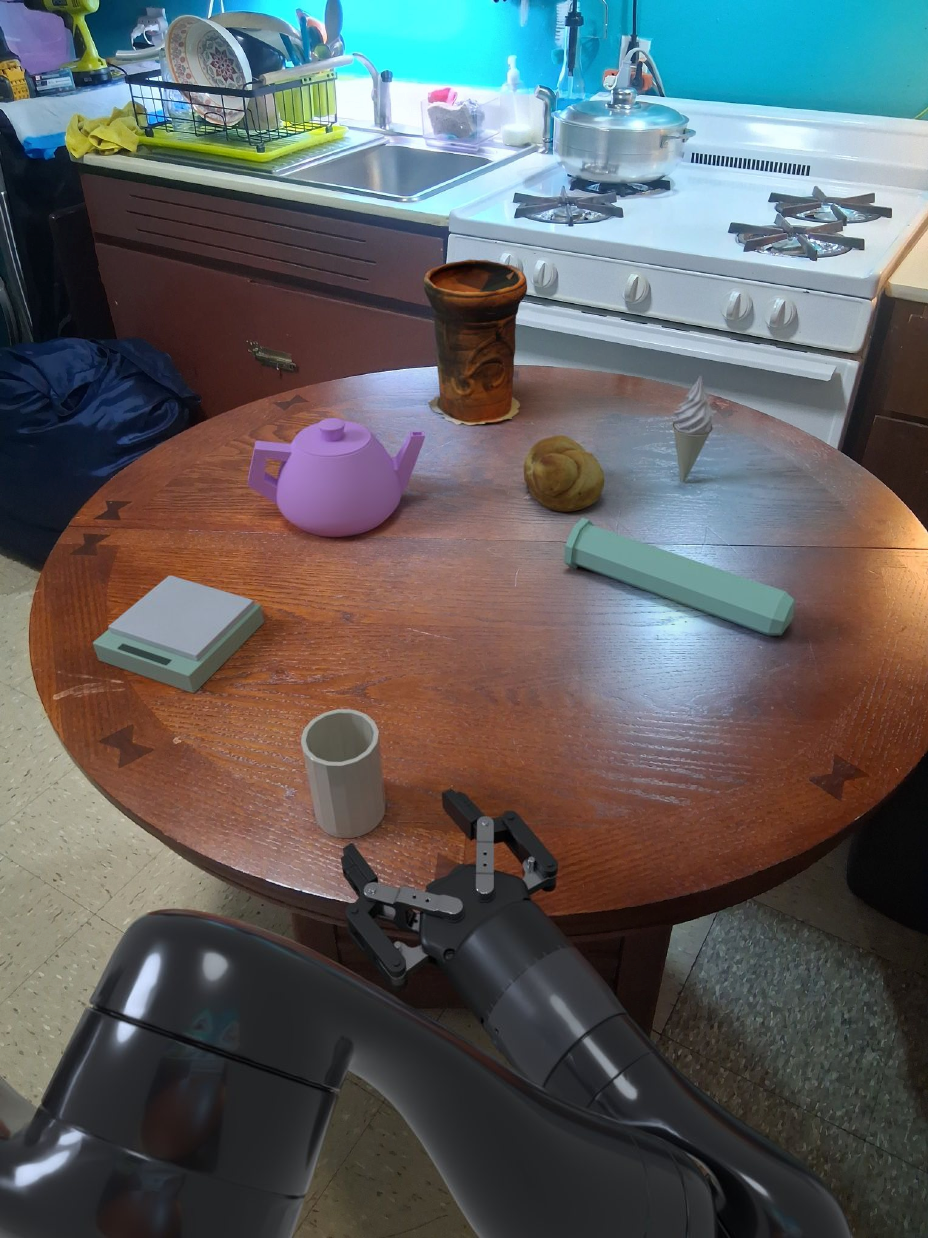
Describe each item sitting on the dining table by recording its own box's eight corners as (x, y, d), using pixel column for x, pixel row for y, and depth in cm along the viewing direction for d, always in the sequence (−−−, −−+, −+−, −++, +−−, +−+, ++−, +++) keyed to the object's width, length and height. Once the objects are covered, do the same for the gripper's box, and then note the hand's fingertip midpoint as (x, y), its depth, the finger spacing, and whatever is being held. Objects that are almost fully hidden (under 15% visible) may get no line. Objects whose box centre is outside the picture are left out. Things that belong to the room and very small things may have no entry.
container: (806, 581, 88) (585, 507, 99) (784, 627, 86) (560, 547, 96) (799, 611, 93) (589, 537, 104) (778, 656, 91) (566, 576, 101)
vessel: (451, 438, 126) (448, 297, 113) (413, 398, 136) (407, 266, 123) (539, 418, 130) (546, 281, 118) (496, 382, 140) (499, 252, 128)
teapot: (254, 553, 104) (236, 463, 96) (253, 486, 115) (238, 402, 108) (437, 532, 107) (434, 444, 99) (418, 470, 118) (414, 386, 111)
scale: (194, 694, 85) (187, 669, 83) (98, 660, 89) (89, 636, 87) (264, 622, 94) (259, 598, 92) (174, 594, 97) (168, 571, 95)
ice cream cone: (656, 483, 115) (672, 375, 106) (675, 468, 118) (692, 362, 109) (690, 496, 113) (710, 386, 103) (709, 480, 116) (729, 372, 106)
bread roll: (511, 472, 118) (513, 417, 113) (580, 464, 119) (585, 410, 114) (537, 523, 108) (540, 465, 103) (611, 514, 110) (618, 457, 105)
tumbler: (363, 848, 71) (354, 775, 65) (300, 824, 73) (286, 750, 67) (398, 795, 75) (391, 722, 70) (337, 773, 77) (327, 700, 71)
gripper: (628, 903, 55) (476, 747, 65) (441, 1035, 49) (305, 839, 59) (615, 965, 60) (475, 810, 70) (444, 1093, 53) (317, 902, 64)
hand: (397, 824), depth 64 cm, fingers open, 8 cm apart
